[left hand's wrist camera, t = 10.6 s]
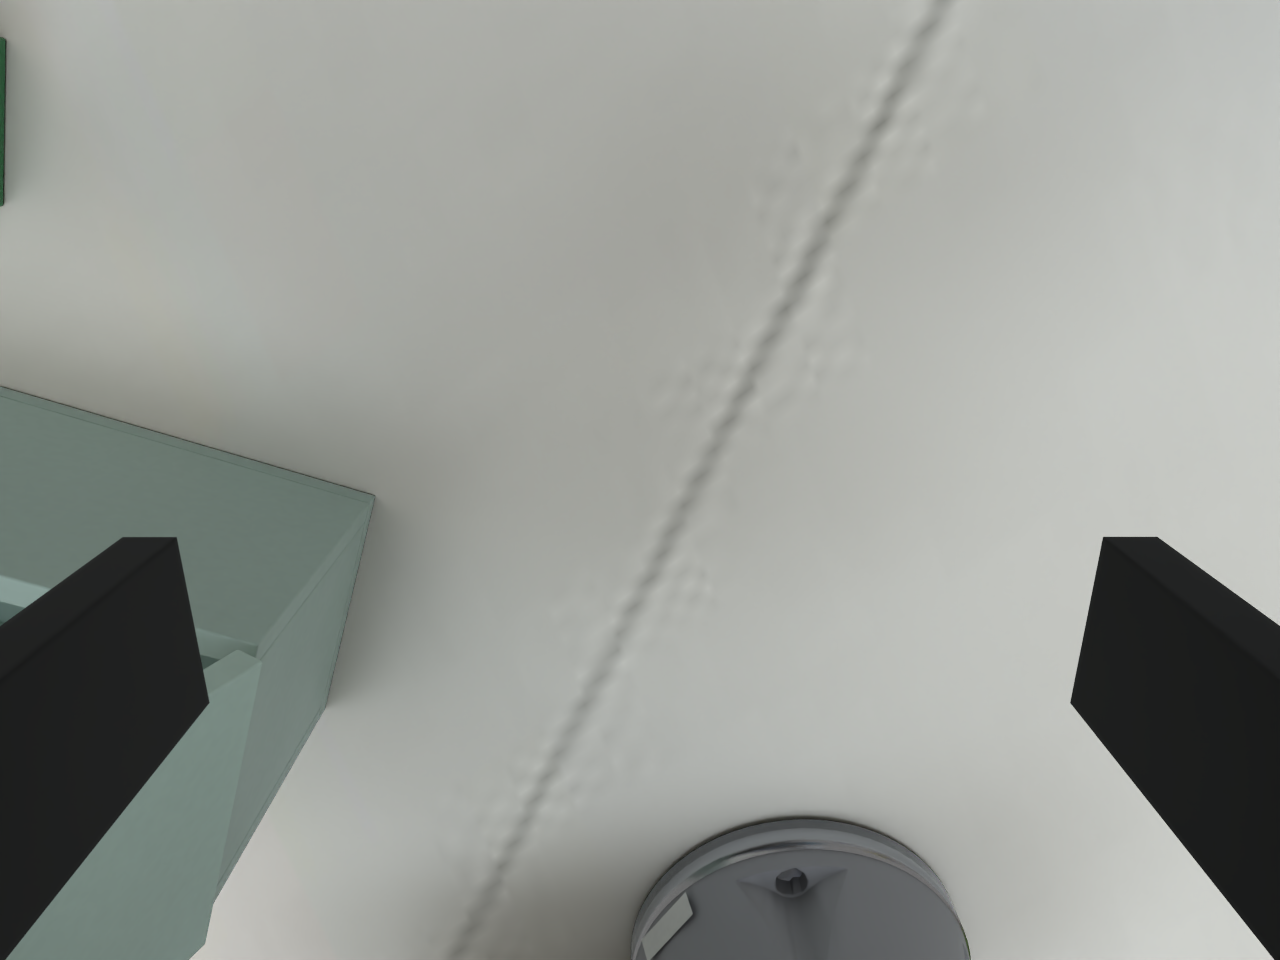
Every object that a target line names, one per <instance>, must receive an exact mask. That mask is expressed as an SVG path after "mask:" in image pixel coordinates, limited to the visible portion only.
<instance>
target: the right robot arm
mask: <svg viewBox="0 0 1280 960" xmlns="http://www.w3.org/2000/svg"><path fill="white" fill-rule="evenodd" d="M631 960H971V959H970V950H969V946H968V941H967V938H966V935H965V933H964V930H963V927H962V925H961V923H960V920H959V918H958V916H957V913H956V911H955V909H954V906H953V904H952V902H951V899H950V897H949V895H948V893H947V891H946V889H945V887H944V886H943V884H942V883H941V881H940V880H939V878H938V877H937V875H936V874H935V873H934V872H933V871H932V870H931V869H930V867H929V866H928V865H927V864H926V863H925V862H923V861H922V860H921V859H920V858H919V857H918V856H917V855H915V854H914V853H913V852H911V851H910V850H909V849H907V848H906V847H904V846H902V845H901V844H899V843H897V842H896V841H894V840H892V839H890V838H888V837H886V836H883V835H881V834H879V833H877V832H874V831H871V830H868V829H865V828H862V827H858V826H854V825H850V824H846V823H840V822H834V821H826V820H810V819H796V820H783V821H775V822H768V823H762V824H758V825H754V826H750V827H746V828H743V829H740V830H736V831H733V832H730V833H728V834H726V835H723V836H721V837H718V838H716V839H714V840H712V841H710V842H708V843H706V844H704V845H702V846H701V847H699V848H697V849H696V850H694V851H693V852H691V853H689V854H688V855H687V856H685V857H684V858H683V859H681V860H680V861H679V862H678V863H676V864H675V865H674V866H673V867H672V868H671V869H670V870H669V871H668V872H666V873H665V874H664V876H663V877H662V878H661V879H660V880H659V881H658V882H657V884H656V885H655V886H654V888H653V889H652V890H651V892H650V893H649V895H648V896H647V898H646V900H645V902H644V903H643V905H642V907H641V909H640V912H639V914H638V917H637V919H636V922H635V926H634V930H633V935H632V942H631Z"/></svg>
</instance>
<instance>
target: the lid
mask: <svg viewBox="0 0 1280 960" xmlns="http://www.w3.org/2000/svg"><path fill="white" fill-rule="evenodd" d="M261 667H262V661H261V660H259V659H257V658H255V657H253V656H251V655H249V654H247V653H245V652H242V651H240V650H236V651H234V652H232V653H230V654H229V655H227V656H225V657H224V658H222V659H220V660H219V661H217V662H215V663H214V664H212V665H210V666H209V667H207V668H205V669H204V670H203V672H204V677H205V682H206V687H207V692H208V697H209V702H210V703H209V704H208V705H207V707H206V708H205V709H204V711H203V712H202V713H201V714H200V716H199V717H198V718H197V719H196V721H195V722H194V723H193V724H192V726H191V727H190V728H189V729H188V731H187V732H186V733H185V734H184V736H183V737H182V738H181V739H180V741H179V742H178V743H177V744H176V746H175V747H174V748H173V750H172V751H171V752H170V753H169V755H168V756H167V757H166V758H165V760H164V761H163V762H162V763H161V765H160V766H159V767H158V768H157V770H156V771H155V772H154V773H153V775H152V776H151V777H150V778H149V780H148V781H147V782H146V784H145V785H144V786H143V787H142V789H141V790H140V791H139V792H138V794H137V795H136V796H135V797H134V799H133V800H132V801H131V802H130V804H129V805H128V806H127V807H126V809H125V810H124V811H123V812H122V814H121V815H120V816H119V818H118V819H117V820H116V821H115V823H114V824H113V825H112V826H111V828H110V829H109V830H108V831H107V833H106V834H105V835H104V836H103V838H102V839H101V840H100V841H99V843H98V844H97V845H96V846H95V848H94V849H93V850H92V852H91V853H90V854H89V855H88V857H87V858H86V859H85V860H84V862H83V863H82V864H81V865H80V867H79V868H78V869H77V870H76V872H75V873H74V874H73V875H72V877H71V878H70V879H69V880H68V882H67V883H66V884H65V885H64V887H63V888H62V889H61V891H60V892H59V893H58V894H57V896H56V897H55V898H54V899H53V901H52V902H51V903H50V904H49V906H48V907H47V908H46V909H45V911H44V912H43V913H42V914H41V916H40V917H39V918H38V919H37V921H36V922H35V923H34V925H33V926H32V927H31V928H30V930H29V931H28V932H27V933H26V935H25V936H24V937H23V938H22V940H21V941H20V942H19V943H18V945H17V946H16V947H15V948H14V950H13V951H12V952H11V953H10V955H9V956H8V957H7V959H6V960H189V959H190V958H191V957H192V956H193V955H194V954H195V953H196V952H197V951H198V950H199V949H200V948H201V947H202V946H203V945H204V944H205V941H206V936H207V931H208V927H209V922H210V917H211V912H212V907H213V902H214V897H215V892H216V887H217V882H218V878H219V873H220V868H221V863H222V858H223V853H224V848H225V843H226V838H227V834H228V829H229V824H230V819H231V814H232V809H233V804H234V799H235V794H236V789H237V785H238V780H239V775H240V770H241V765H242V760H243V755H244V750H245V745H246V740H247V736H248V731H249V726H250V721H251V716H252V711H253V706H254V701H255V696H256V692H257V687H258V682H259V677H260V672H261Z"/></svg>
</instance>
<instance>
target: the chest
mask: <svg viewBox="0 0 1280 960" xmlns="http://www.w3.org/2000/svg"><path fill="white" fill-rule="evenodd" d="M374 499H375V496H374V495H370V494H367V493H363V492H360V491H356V490H353V489H350V488H346V487H343V486H339V485H336V484H333V483H329V482H326V481H322V480H319V479H315V478H312V477H309V476H305V475H302V474H298V473H295V472H291V471H288V470H285V469H281V468H278V467H274V466H271V465H267V464H264V463H261V462H257V461H254V460H250V459H247V458H243V457H240V456H237V455H233V454H230V453H226V452H223V451H219V450H216V449H213V448H209V447H206V446H202V445H199V444H195V443H192V442H189V441H185V440H182V439H178V438H175V437H172V436H168V435H165V434H161V433H158V432H154V431H151V430H148V429H144V428H141V427H137V426H134V425H130V424H127V423H124V422H120V421H117V420H113V419H110V418H106V417H103V416H100V415H96V414H93V413H89V412H86V411H82V410H79V409H76V408H72V407H69V406H65V405H62V404H58V403H55V402H52V401H48V400H45V399H41V398H38V397H34V396H31V395H28V394H24V393H21V392H17V391H14V390H10V389H7V388H4V387H0V626H1V625H2V624H4V623H5V622H6V621H8V620H9V619H11V618H12V617H13V616H15V615H16V614H17V613H19V612H20V611H22V610H23V609H24V608H26V607H27V606H28V605H30V604H31V603H33V602H34V601H35V600H37V599H38V598H39V597H41V596H42V595H44V594H45V593H46V592H48V591H49V590H50V589H52V588H53V587H55V586H56V585H57V584H59V583H60V582H61V581H63V580H64V579H66V578H67V577H68V576H70V575H71V574H72V573H74V572H75V571H77V570H78V569H79V568H81V567H82V566H83V565H85V564H86V563H88V562H89V561H90V560H92V559H93V558H94V557H96V556H97V555H99V554H100V553H101V552H103V551H104V550H105V549H107V548H108V547H110V546H111V545H112V544H114V543H115V542H116V541H118V540H119V539H121V538H122V537H177V541H178V546H179V551H180V556H181V561H182V566H183V571H184V576H185V581H186V586H187V591H188V596H189V601H190V606H191V611H192V616H193V621H194V627H195V632H196V637H197V642H198V647H199V652H200V657H201V662H202V667H203V670H204V669H205V668H207V667H209V666H210V665H212V664H214V663H215V662H217V661H219V660H220V659H222V658H224V657H225V656H227V655H229V654H230V653H232V652H234V651H236V650H240V651H242V652H245V653H247V654H249V655H251V656H253V657H255V658H257V659H259V660H261V661H262V667H261V672H260V677H259V682H258V687H257V692H256V696H255V701H254V706H253V711H252V716H251V721H250V726H249V731H248V736H247V740H246V745H245V750H244V755H243V760H242V765H241V770H240V775H239V780H238V785H237V789H236V794H235V799H234V804H233V809H232V814H231V819H230V824H229V829H228V834H227V838H226V843H225V848H224V853H223V858H222V863H221V868H220V873H219V878H218V882H217V887H216V892H215V897H214V902H215V900H216V898H217V896H218V895H219V893H220V891H221V889H222V888H223V886H224V884H225V882H226V881H227V879H228V877H229V875H230V874H231V872H232V870H233V868H234V867H235V865H236V863H237V861H238V860H239V858H240V856H241V854H242V853H243V851H244V849H245V847H246V846H247V844H248V842H249V840H250V839H251V837H252V835H253V833H254V832H255V830H256V828H257V826H258V825H259V823H260V821H261V819H262V818H263V816H264V814H265V812H266V811H267V809H268V807H269V805H270V804H271V802H272V800H273V799H274V797H275V795H276V793H277V792H278V790H279V788H280V786H281V785H282V783H283V781H284V779H285V778H286V776H287V774H288V772H289V771H290V769H291V767H292V765H293V764H294V762H295V760H296V758H297V757H298V755H299V753H300V751H301V750H302V748H303V746H304V744H305V743H306V741H307V739H308V737H309V736H310V734H311V732H312V730H313V729H314V727H315V725H316V723H317V722H318V720H319V719H320V717H321V715H322V713H323V712H324V710H325V706H326V702H327V698H328V693H329V689H330V685H331V681H332V677H333V672H334V668H335V664H336V660H337V655H338V651H339V647H340V643H341V639H342V634H343V630H344V626H345V622H346V618H347V613H348V609H349V605H350V601H351V596H352V592H353V588H354V584H355V580H356V575H357V571H358V567H359V563H360V558H361V554H362V550H363V546H364V542H365V537H366V533H367V529H368V525H369V521H370V516H371V512H372V508H373V504H374ZM214 902H213V903H214Z"/></svg>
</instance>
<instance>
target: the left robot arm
mask: <svg viewBox="0 0 1280 960" xmlns="http://www.w3.org/2000/svg"><path fill="white" fill-rule="evenodd" d="M209 703H210V702H209V697H208V692H207V687H206V682H205V677H204V672H203V667H202V662H201V657H200V652H199V647H198V642H197V637H196V632H195V627H194V621H193V616H192V611H191V606H190V601H189V596H188V591H187V586H186V581H185V576H184V571H183V566H182V561H181V556H180V551H179V546H178V541H177V537H122V538H121V539H119V540H118V541H116V542H115V543H114V544H112V545H111V546H110V547H108V548H107V549H105V550H104V551H103V552H101V553H100V554H99V555H97V556H96V557H94V558H93V559H92V560H90V561H89V562H88V563H86V564H85V565H83V566H82V567H81V568H79V569H78V570H77V571H75V572H74V573H72V574H71V575H70V576H68V577H67V578H66V579H64V580H63V581H61V582H60V583H59V584H57V585H56V586H55V587H53V588H52V589H50V590H49V591H48V592H46V593H45V594H44V595H42V596H41V597H39V598H38V599H37V600H35V601H34V602H33V603H31V604H30V605H28V606H27V607H26V608H24V609H23V610H22V611H20V612H19V613H17V614H16V615H15V616H13V617H12V618H11V619H9V620H8V621H6V622H5V623H4V624H2V625H1V626H0V960H6V959H7V957H8V956H9V955H10V953H11V952H12V951H13V950H14V948H15V947H16V946H17V945H18V943H19V942H20V941H21V940H22V938H23V937H24V936H25V935H26V933H27V932H28V931H29V930H30V928H31V927H32V926H33V925H34V923H35V922H36V921H37V919H38V918H39V917H40V916H41V914H42V913H43V912H44V911H45V909H46V908H47V907H48V906H49V904H50V903H51V902H52V901H53V899H54V898H55V897H56V896H57V894H58V893H59V892H60V891H61V889H62V888H63V887H64V885H65V884H66V883H67V882H68V880H69V879H70V878H71V877H72V875H73V874H74V873H75V872H76V870H77V869H78V868H79V867H80V865H81V864H82V863H83V862H84V860H85V859H86V858H87V857H88V855H89V854H90V853H91V852H92V850H93V849H94V848H95V846H96V845H97V844H98V843H99V841H100V840H101V839H102V838H103V836H104V835H105V834H106V833H107V831H108V830H109V829H110V828H111V826H112V825H113V824H114V823H115V821H116V820H117V819H118V818H119V816H120V815H121V814H122V812H123V811H124V810H125V809H126V807H127V806H128V805H129V804H130V802H131V801H132V800H133V799H134V797H135V796H136V795H137V794H138V792H139V791H140V790H141V789H142V787H143V786H144V785H145V784H146V782H147V781H148V780H149V778H150V777H151V776H152V775H153V773H154V772H155V771H156V770H157V768H158V767H159V766H160V765H161V763H162V762H163V761H164V760H165V758H166V757H167V756H168V755H169V753H170V752H171V751H172V750H173V748H174V747H175V746H176V744H177V743H178V742H179V741H180V739H181V738H182V737H183V736H184V734H185V733H186V732H187V731H188V729H189V728H190V727H191V726H192V724H193V723H194V722H195V721H196V719H197V718H198V717H199V716H200V714H201V713H202V712H203V711H204V709H205V708H206V707H207V705H208V704H209ZM1070 703H1071V704H1072V705H1073V707H1074V708H1075V709H1076V711H1077V712H1078V713H1079V714H1080V716H1081V717H1082V718H1083V719H1084V721H1085V722H1086V723H1087V724H1088V726H1089V727H1090V728H1091V729H1092V731H1093V732H1094V733H1095V734H1096V736H1097V737H1098V738H1099V739H1100V741H1101V742H1102V743H1103V745H1104V746H1105V747H1106V748H1107V750H1108V751H1109V752H1110V753H1111V755H1112V756H1113V757H1114V758H1115V760H1116V761H1117V762H1118V763H1119V765H1120V766H1121V767H1122V768H1123V770H1124V771H1125V772H1126V773H1127V775H1128V776H1129V777H1130V778H1131V780H1132V781H1133V782H1134V784H1135V785H1136V786H1137V787H1138V789H1139V790H1140V791H1141V792H1142V794H1143V795H1144V796H1145V797H1146V799H1147V800H1148V801H1149V802H1150V804H1151V805H1152V806H1153V807H1154V809H1155V810H1156V811H1157V812H1158V814H1159V815H1160V816H1161V818H1162V819H1163V820H1164V821H1165V823H1166V824H1167V825H1168V826H1169V828H1170V829H1171V830H1172V831H1173V833H1174V834H1175V835H1176V836H1177V838H1178V839H1179V840H1180V841H1181V843H1182V844H1183V845H1184V846H1185V848H1186V849H1187V850H1188V852H1189V853H1190V854H1191V855H1192V857H1193V858H1194V859H1195V860H1196V862H1197V863H1198V864H1199V865H1200V867H1201V868H1202V869H1203V870H1204V872H1205V873H1206V874H1207V875H1208V877H1209V878H1210V879H1211V880H1212V882H1213V883H1214V884H1215V885H1216V887H1217V888H1218V889H1219V891H1220V892H1221V893H1222V894H1223V896H1224V897H1225V898H1226V899H1227V901H1228V902H1229V903H1230V904H1231V906H1232V907H1233V908H1234V909H1235V911H1236V912H1237V913H1238V914H1239V916H1240V917H1241V918H1242V919H1243V921H1244V922H1245V923H1246V925H1247V926H1248V927H1249V928H1250V930H1251V931H1252V932H1253V933H1254V935H1255V936H1256V937H1257V938H1258V940H1259V941H1260V942H1261V943H1262V945H1263V946H1264V947H1265V948H1266V950H1267V951H1268V952H1269V953H1270V955H1271V956H1272V957H1273V959H1274V960H1280V626H1279V625H1278V624H1276V623H1275V622H1274V621H1272V620H1271V619H1269V618H1268V617H1267V616H1265V615H1264V614H1263V613H1261V612H1260V611H1258V610H1257V609H1256V608H1254V607H1253V606H1252V605H1250V604H1249V603H1247V602H1246V601H1245V600H1243V599H1242V598H1241V597H1239V596H1238V595H1236V594H1235V593H1234V592H1232V591H1231V590H1230V589H1228V588H1227V587H1225V586H1224V585H1223V584H1221V583H1220V582H1219V581H1217V580H1216V579H1214V578H1213V577H1212V576H1210V575H1209V574H1208V573H1206V572H1205V571H1203V570H1202V569H1201V568H1199V567H1198V566H1197V565H1195V564H1194V563H1192V562H1191V561H1190V560H1188V559H1187V558H1186V557H1184V556H1183V555H1181V554H1180V553H1179V552H1177V551H1176V550H1175V549H1173V548H1172V547H1170V546H1169V545H1168V544H1166V543H1165V542H1163V541H1162V540H1161V539H1159V538H1158V537H1103V541H1102V546H1101V551H1100V556H1099V561H1098V566H1097V571H1096V576H1095V581H1094V586H1093V591H1092V596H1091V601H1090V606H1089V611H1088V616H1087V621H1086V626H1085V632H1084V637H1083V642H1082V647H1081V652H1080V657H1079V662H1078V667H1077V672H1076V677H1075V682H1074V687H1073V692H1072V697H1071V702H1070Z"/></svg>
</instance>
